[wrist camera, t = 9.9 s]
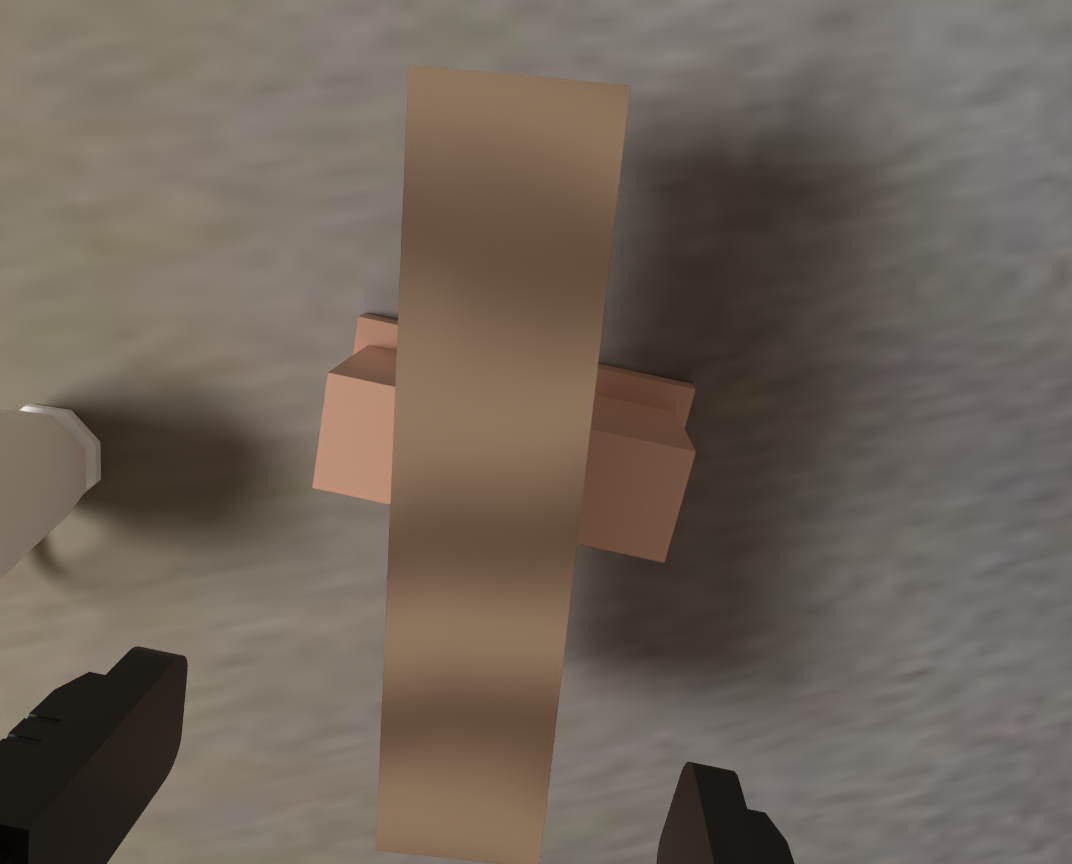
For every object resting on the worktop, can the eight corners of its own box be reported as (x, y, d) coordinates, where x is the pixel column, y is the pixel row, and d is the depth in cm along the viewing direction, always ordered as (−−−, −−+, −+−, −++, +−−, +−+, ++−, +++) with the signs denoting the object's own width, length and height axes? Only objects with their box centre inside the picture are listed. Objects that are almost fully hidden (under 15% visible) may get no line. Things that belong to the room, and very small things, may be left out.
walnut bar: (443, 94, 22) (408, 65, 18) (617, 111, 22) (630, 85, 17) (408, 741, 29) (376, 850, 24) (544, 756, 28) (538, 868, 24)
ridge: (364, 312, 30) (316, 338, 24) (691, 383, 30) (720, 425, 25) (344, 456, 32) (294, 512, 26) (653, 522, 32) (671, 592, 26)
